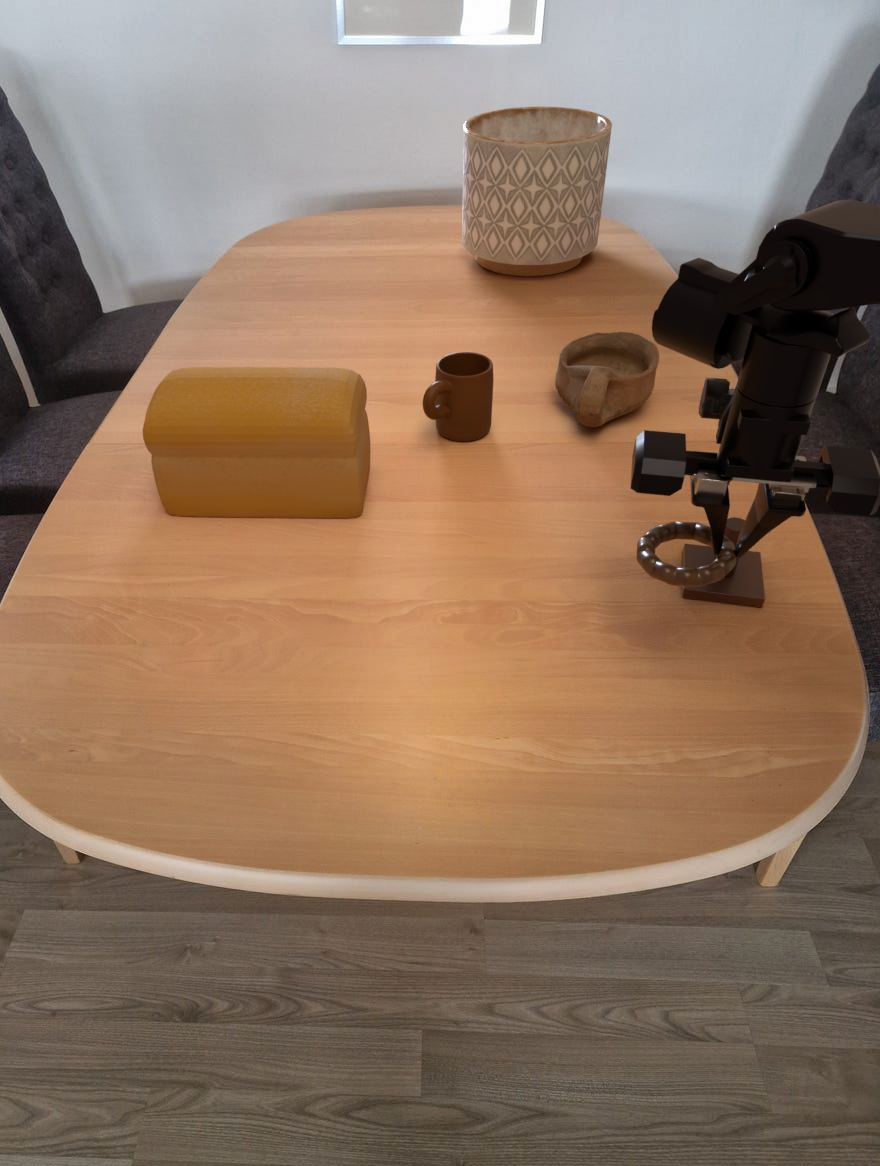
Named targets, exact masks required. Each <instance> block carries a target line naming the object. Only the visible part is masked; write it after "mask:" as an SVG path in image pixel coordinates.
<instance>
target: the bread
mask: <svg viewBox="0 0 880 1166" xmlns="http://www.w3.org/2000/svg"><path fill="white" fill-rule="evenodd" d="M367 398H368V393H367V386H366V382H365V379H363V377H362V375H361V374H360V373H359V372H356V371H355V370H352V369H348V368H343V367H332V366H331V367H326V366H323V367H322V366H320V367H319V366H318V367H317V366H270V367H269V366H238V367H237V366H207V367H206V366H204V367H203V366H201V367H200V366H199V367H196V366H195V367H194V366H193V367H182V368H177V369H173V370H171V371H170V372H169V373H168V374H167V375H165V377H163V379H162V380H161V381H160V382H159V384H158V385H157V386H156V388H155V390H154V391H153V394H152V396H151V399H150V401H149V403H148V406H147V408H146V412H145V417H144V422H143V427H142V438H143V443H144V446H145V448H146V449H147V451H148V452H149V454H150V455H151V458H150V459H151V461H150V462H151V468H152V473H153V478H154V482H155V486H156V490H157V493H158V496H159V499H160V502H161V504H162V506H163V507H164V509H165V511H166V514H168V515H169V516H175V517H192V518H193V517H194V518H195V517H199V518H201V517H203V518H204V517H205V518H270V519H271V518H275V519H276V518H277V519H278V518H279V519H281V518H282V519H283V518H284V519H288V518H289V519H353V518H358V517H360V516H362V513H363V510H364V504H365V498H366V493H367V487H368V481H369V475H370V470H371V434H370V425H369V423H370V422H369V417H368V413H367V409H366V408H367V407H366V405H367Z"/></svg>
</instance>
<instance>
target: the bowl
mask: <svg viewBox="0 0 880 1166" xmlns="http://www.w3.org/2000/svg"><path fill="white" fill-rule="evenodd" d="M659 363H660V352H659V349H658V347H657V345H656V344H654V343H653V342H652V341H650V340H648V339H647V338H645V337H644V336H642V335H641V334H637V333H633V332H627V331H618V332H617V331H615V332H594V333H591V334H587V335H585V336H581V337H579V338H576V339H574V340H572V341H571V342H569V343H568V344H567V345H565V346H564V347H563V348H562V349H561V351H560V352H559V359H558V365H557V369H556V373H555V380H554V382H555V383H554V384H555V389H556V391H557V393H558V395H559V398H560V399H561V400H562V401H563V403H564V404H565V405H566V406H567V407H568V408H570V409H571V410H573V411H575V413H576V419H577V422H578V423H579V424H581V425H583V426H586V427H591V428H592V427H593V428H597V427H601V426H603V425H604V424H606V423H607V422H609V421H611V420H613V419H616V418H619V417H621V416H624V415H627V414H629V413H632V412H633V411H635V410H637V409H639V408H640V407H641V406H642V405H644V404H645V403H646V401H647V400H649V399H650V397H651V395H652V393H653V391H654V388H655V380H656V375H657V369H658V366H659Z"/></svg>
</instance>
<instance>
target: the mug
mask: <svg viewBox="0 0 880 1166" xmlns="http://www.w3.org/2000/svg"><path fill="white" fill-rule="evenodd" d="M493 398H494V364H493V361H492V360H491V358H489V357H488V356H487V355H484V354H482V353H478V352H474V351H456V352H452V353H448V354H446V355H444V356H442V357H440V358H439V359H438V360H437V362H436V364H435V377H434V382H432V383H431V384H430V385H429V386H428V387H427V388H426V389H425V392H424V394H423V398H422V410H423V413H424V415H425V416H426V417H427V418H429V419H430V420H431V421H432V420H433V421H435V427H436V430H437V432H438V434H439V435H441V436H442V438H445V439H447V440H450V441H453V442H454V441H455V442H463V443H464V442H473V441H477V440H479V439H481V438H483V437H485V436H486V435H487V434H488V433H489V432H490V429H491V426H492V417H493V415H492V414H493V400H494V399H493Z"/></svg>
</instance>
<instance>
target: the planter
mask: <svg viewBox="0 0 880 1166" xmlns="http://www.w3.org/2000/svg"><path fill="white" fill-rule="evenodd" d="M612 128H613V122H612V121H611V120H610V118H608V117H607V116H605V115H603V114H601V113H597V112H594V111H590V110H585V109H580V108H573V107H562V106H520V107H519V106H518V107H509V108H508V107H507V108H501V109H495V110H490V111H487V112H482V113H480V114H476V115H473V116H472V117H470V118H469V119H468V120H466V121H465V122H464V124H463V148H462V149H463V151H462V152H463V154H462V155H463V157H462V159H463V160H462V213H461V215H462V216H461V217H462V218H461V219H462V221H461V245H462V246H463V248H464V249H465V251H466V252H468V253H470V254H471V255H472V256H474V259H475V262H476V263H477V264H478V265H479V266H481V268H484V269H486V270H489V271H490V272H493V273H497V274H502V275H508V276H515V277H544V276H552V275H556V274H560V273H564V272H567V271H569V270H572V269H573V268H575V267H577V266H578V265H579V264H580V263H581V261H582V259H583V257H585V256H587V255H588V254H590V253H592V252H593V251H594V250H595V249H596V247H597V246H598V242H599V234H600V225H601V218H602V209H603V200H604V194H605V193H604V192H605V185H606V184H605V182H606V177H607V169H608V161H609V152H610V145H611V144H610V143H611V135H612Z"/></svg>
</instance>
